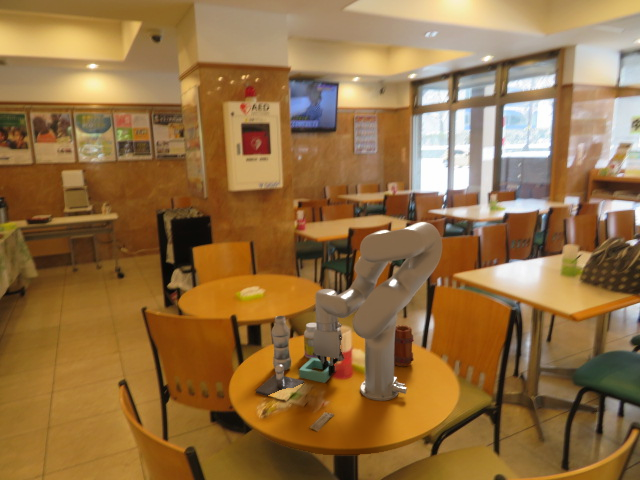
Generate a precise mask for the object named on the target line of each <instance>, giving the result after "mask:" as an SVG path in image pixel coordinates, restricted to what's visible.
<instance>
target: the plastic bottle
mask: <svg viewBox="0 0 640 480" xmlns="http://www.w3.org/2000/svg"><path fill="white" fill-rule="evenodd" d="M286 322H287V321H286V317H285V316H284V315H277V316H275V317H274V326H273V327H272V328H271V337H272V342H273V359H272V364H273V367H274V368H275V367H276V366H277V365H279V364H281V365H283V366H284V371H287V370H289V369H290V368H291V366H292V357H291V354H290V348H289V347H290V346H289V345H290V333H291V332H290V328H289V326H288V325H287V324H286Z"/></svg>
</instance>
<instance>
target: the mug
mask: <svg viewBox="0 0 640 480" xmlns="http://www.w3.org/2000/svg"><path fill="white" fill-rule="evenodd" d="M412 330H413V329H412V328H411V326H408V325H404V324H402V325H398V324H397V325H396V329H395V348H394V366H397V367H399V368H400V367H408V366H411V364H412V363H413V361H414V360H415V359H414V352H413V342H414V335H413V334H412Z"/></svg>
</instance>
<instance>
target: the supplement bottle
mask: <svg viewBox="0 0 640 480" xmlns="http://www.w3.org/2000/svg"><path fill="white" fill-rule="evenodd" d="M305 328H306V329H305V331H304V332H303V345H304V346H303V348H304V350H303V351H304V357H306V358H307V359H309V360H310V359H311V358H317V359H318V357H316V356H314V355H313V351H314V350H313V339H314V331H315V328H316V322H309V323H306V325H305Z"/></svg>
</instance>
